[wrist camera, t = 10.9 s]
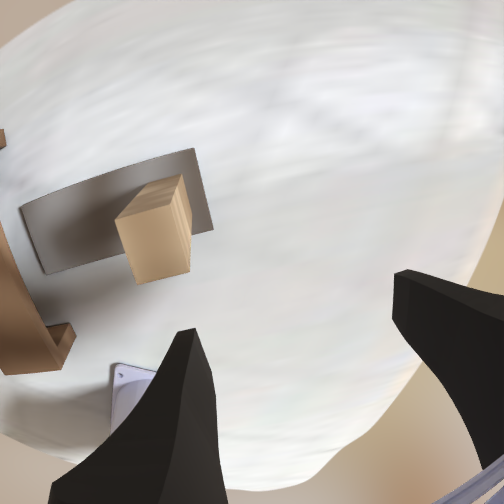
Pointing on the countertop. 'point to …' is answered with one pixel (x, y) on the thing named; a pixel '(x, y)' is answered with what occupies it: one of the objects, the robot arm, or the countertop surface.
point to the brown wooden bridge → (26, 322)
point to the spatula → (124, 218)
